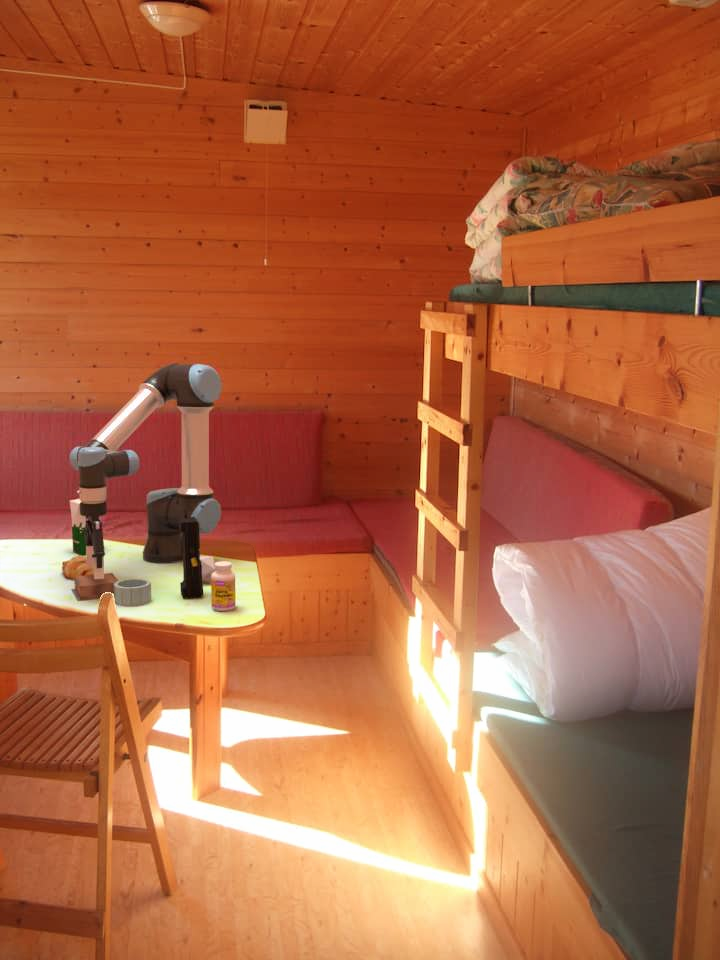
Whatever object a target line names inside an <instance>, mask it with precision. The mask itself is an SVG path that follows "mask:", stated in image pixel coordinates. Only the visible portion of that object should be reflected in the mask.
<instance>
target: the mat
mask: <svg viewBox="0 0 720 960" xmlns="http://www.w3.org/2000/svg"><path fill="white" fill-rule="evenodd" d="M71 591H72V594H73V595H74V597H75V599H76V601H77V602H84V601H93V600H101V599H100V598H93V599H85V600H80V598H79V596H78V594H77V592H76V591H75V588H71Z"/></svg>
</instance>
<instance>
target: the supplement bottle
mask: <svg viewBox="0 0 720 960" xmlns="http://www.w3.org/2000/svg"><path fill="white" fill-rule="evenodd" d="M232 569H233V568H232V562H230V561H217V562H216V563H215V572H213V573H212V575H211V583H210V587H211V589H210V590H211V591H210V594H211V599H210V600H211V608H212V609H213V610H214V611H217V612H228V611H232V610H234V609H235V608H236V574H235V572H233V571H232Z"/></svg>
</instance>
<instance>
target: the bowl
mask: <svg viewBox="0 0 720 960" xmlns="http://www.w3.org/2000/svg"><path fill="white" fill-rule="evenodd" d="M151 584H152V582H151V581H150V580H149V579H147V578H146V579H145V578H139V577H138V578H137V577H136V578H135V577H134V578H126V579H120V580H118V581H117V582H115V583H114V597H115V600H114V603H115V602H116V603H115V604H116V605H119V606H121V605H122V607H135V606H136V607H137V606H143V605H146V604H148V603H150V602H152V601H151V600H152V585H151ZM114 597H113V598H114Z"/></svg>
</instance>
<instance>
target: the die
mask: <svg viewBox="0 0 720 960" xmlns="http://www.w3.org/2000/svg"><path fill="white" fill-rule="evenodd" d="M200 561H201V564H202V583H203V584H211V575H212V573H213V572H215V563H217V562H216V561H215V558H214V556H208V555H205V556H204V555H200Z"/></svg>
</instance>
